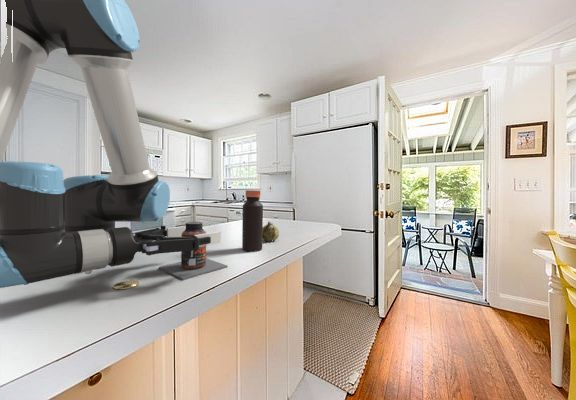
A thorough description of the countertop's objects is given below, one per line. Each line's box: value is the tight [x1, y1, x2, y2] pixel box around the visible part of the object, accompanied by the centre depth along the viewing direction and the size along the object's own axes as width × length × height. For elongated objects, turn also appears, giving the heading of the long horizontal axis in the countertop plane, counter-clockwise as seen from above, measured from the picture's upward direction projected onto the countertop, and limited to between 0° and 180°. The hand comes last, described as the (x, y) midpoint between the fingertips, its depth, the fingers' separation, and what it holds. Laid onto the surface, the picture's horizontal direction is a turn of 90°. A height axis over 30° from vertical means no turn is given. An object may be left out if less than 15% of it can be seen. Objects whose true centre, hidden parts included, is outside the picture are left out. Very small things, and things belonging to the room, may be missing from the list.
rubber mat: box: [158, 257, 228, 281], centre depth 61 cm, size 12×12×1 cm
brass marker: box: [112, 279, 140, 291], centre depth 50 cm, size 4×4×1 cm
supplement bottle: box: [180, 221, 207, 269], centre depth 61 cm, size 6×6×11 cm
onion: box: [262, 221, 280, 242], centre depth 95 cm, size 8×8×8 cm
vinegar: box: [241, 190, 264, 252], centre depth 81 cm, size 7×7×20 cm
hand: (204, 233), depth 63 cm, fingers open, 13 cm apart
